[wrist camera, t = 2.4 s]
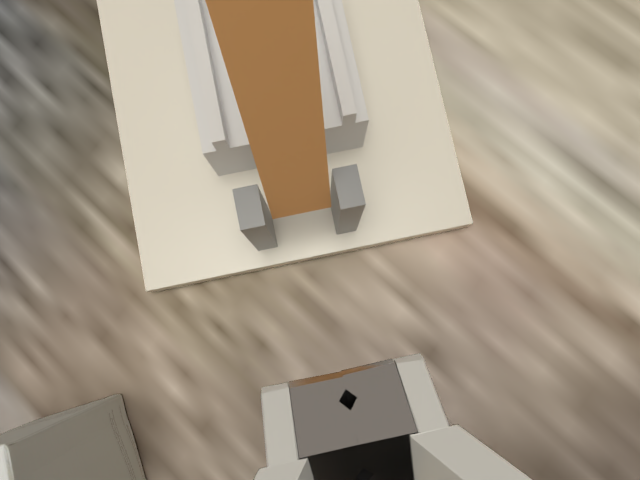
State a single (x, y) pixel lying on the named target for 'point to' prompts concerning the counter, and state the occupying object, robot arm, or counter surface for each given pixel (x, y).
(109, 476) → the skincare box
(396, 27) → the socket board
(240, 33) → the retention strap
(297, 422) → the robot arm
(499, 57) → the counter surface
